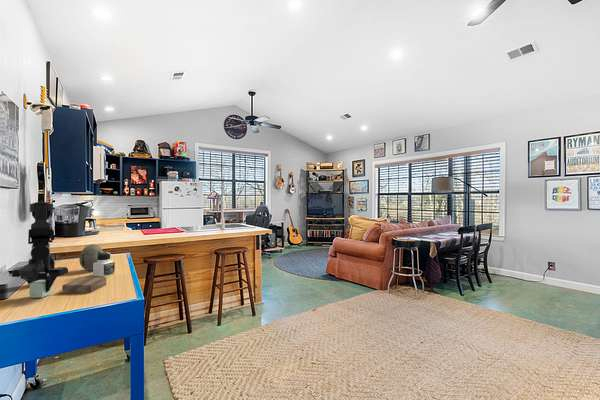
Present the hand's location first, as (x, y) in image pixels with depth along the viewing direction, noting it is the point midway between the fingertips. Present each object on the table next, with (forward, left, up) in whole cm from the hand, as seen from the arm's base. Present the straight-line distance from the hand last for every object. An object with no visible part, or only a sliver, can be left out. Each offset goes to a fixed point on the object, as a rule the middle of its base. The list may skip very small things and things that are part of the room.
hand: (40, 291), depth 125 cm
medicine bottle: (+7, +34, -2) cm, 35 cm away
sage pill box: (0, 0, -2) cm, 2 cm away
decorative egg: (-5, +44, -2) cm, 44 cm away
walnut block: (+12, +10, -2) cm, 16 cm away
